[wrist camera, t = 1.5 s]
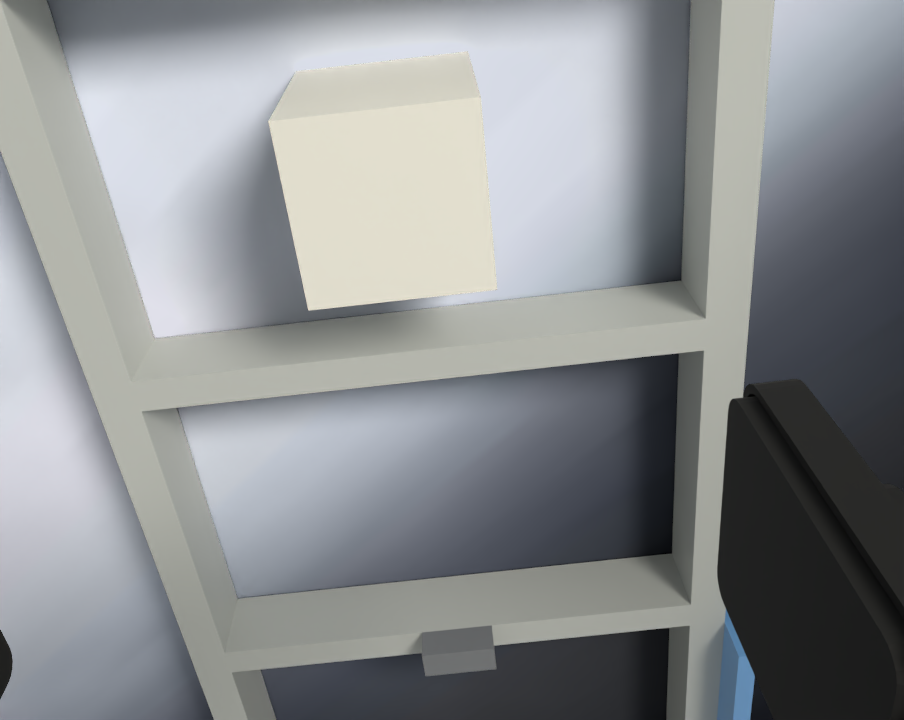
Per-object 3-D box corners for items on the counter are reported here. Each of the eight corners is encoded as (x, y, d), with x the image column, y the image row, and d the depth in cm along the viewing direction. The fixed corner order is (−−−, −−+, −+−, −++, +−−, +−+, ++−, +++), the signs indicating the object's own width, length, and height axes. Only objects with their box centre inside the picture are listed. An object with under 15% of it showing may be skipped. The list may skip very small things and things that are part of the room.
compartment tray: (774, -176, 20) (849, -184, 17) (705, 762, 38) (735, 853, 34) (-31, -80, 20) (-122, -67, 17) (275, 804, 38) (261, 899, 35)
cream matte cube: (467, 51, 22) (481, 96, 18) (482, 214, 25) (497, 289, 20) (296, 70, 22) (267, 121, 18) (326, 231, 25) (308, 310, 20)
